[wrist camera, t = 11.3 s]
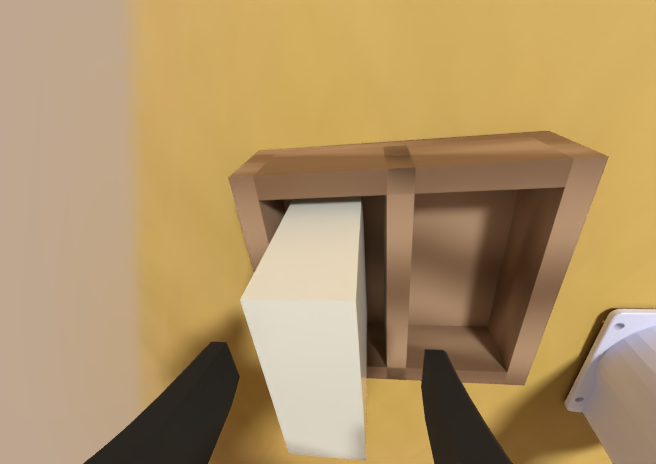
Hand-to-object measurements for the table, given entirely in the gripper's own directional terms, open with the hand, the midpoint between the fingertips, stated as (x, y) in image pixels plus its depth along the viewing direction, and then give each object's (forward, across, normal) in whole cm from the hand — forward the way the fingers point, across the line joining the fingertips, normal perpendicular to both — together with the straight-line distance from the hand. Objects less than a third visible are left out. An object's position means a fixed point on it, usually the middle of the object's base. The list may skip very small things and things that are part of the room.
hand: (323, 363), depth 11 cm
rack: (+7, -3, 0) cm, 8 cm away
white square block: (+7, 0, 0) cm, 7 cm away
